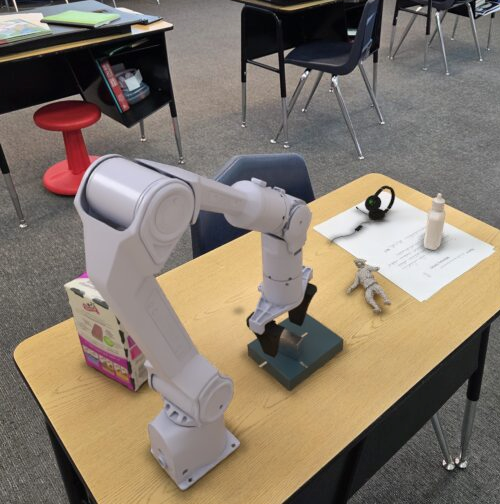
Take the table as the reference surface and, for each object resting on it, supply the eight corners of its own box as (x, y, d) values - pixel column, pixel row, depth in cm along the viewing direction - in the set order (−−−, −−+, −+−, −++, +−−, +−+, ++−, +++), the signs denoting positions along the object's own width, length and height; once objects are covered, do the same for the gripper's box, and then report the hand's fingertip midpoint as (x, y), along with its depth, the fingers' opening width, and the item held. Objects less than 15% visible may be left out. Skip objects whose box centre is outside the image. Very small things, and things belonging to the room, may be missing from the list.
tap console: (282, 398, 81) (282, 386, 80) (239, 360, 87) (238, 348, 86) (343, 350, 89) (344, 338, 88) (300, 319, 95) (300, 307, 94)
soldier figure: (360, 321, 96) (332, 268, 103) (373, 325, 100) (345, 273, 107) (394, 296, 94) (363, 243, 101) (406, 301, 98) (375, 249, 104)
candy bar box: (158, 371, 85) (143, 291, 77) (135, 393, 82) (116, 312, 73) (109, 344, 90) (88, 266, 82) (84, 364, 87) (61, 284, 78)
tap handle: (303, 353, 85) (303, 336, 83) (297, 361, 84) (297, 343, 82) (271, 338, 88) (271, 321, 86) (265, 346, 86) (264, 328, 84)
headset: (321, 249, 123) (379, 193, 129) (343, 263, 118) (402, 204, 124) (312, 229, 118) (372, 173, 125) (334, 242, 113) (396, 183, 120)
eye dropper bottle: (415, 243, 115) (422, 194, 108) (432, 233, 118) (440, 185, 111) (431, 252, 112) (439, 203, 106) (448, 242, 115) (457, 194, 109)
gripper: (285, 235, 84) (286, 302, 91) (229, 287, 74) (235, 358, 81) (325, 249, 81) (323, 317, 88) (272, 305, 71) (274, 377, 78)
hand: (283, 337), depth 84 cm, fingers open, 7 cm apart
